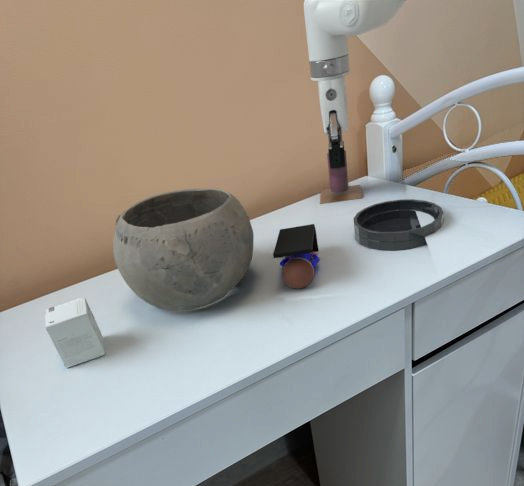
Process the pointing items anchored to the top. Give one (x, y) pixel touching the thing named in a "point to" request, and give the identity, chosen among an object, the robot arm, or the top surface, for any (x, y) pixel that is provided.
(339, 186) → the purple vial
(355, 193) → the coaster
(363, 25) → the robot arm
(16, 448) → the top surface
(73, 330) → the white cardboard box
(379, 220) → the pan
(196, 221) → the bowl
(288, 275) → the figurine character
